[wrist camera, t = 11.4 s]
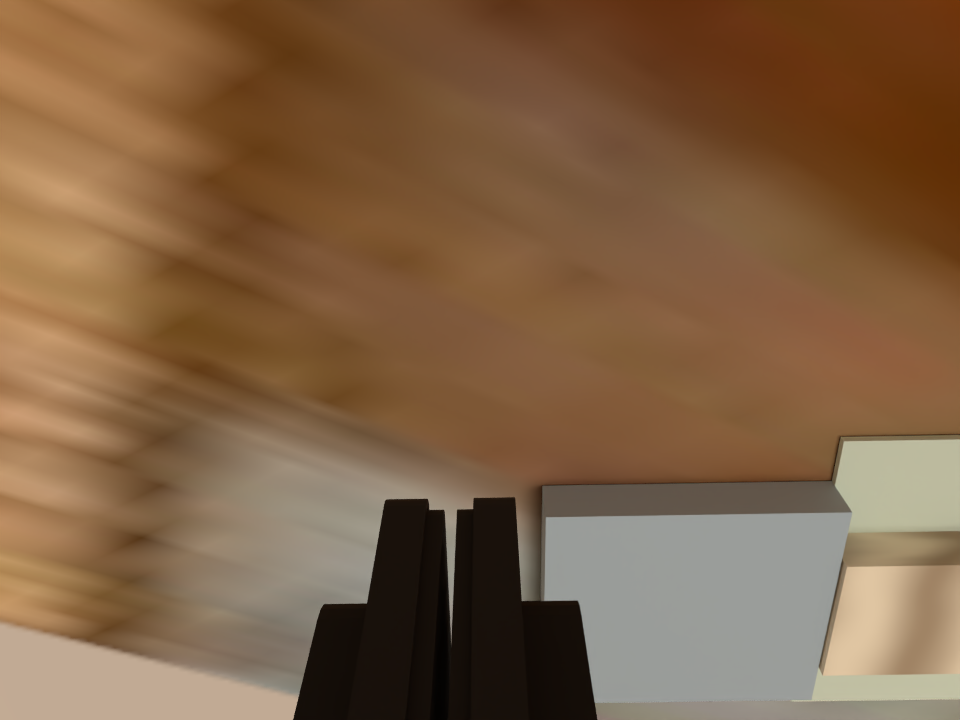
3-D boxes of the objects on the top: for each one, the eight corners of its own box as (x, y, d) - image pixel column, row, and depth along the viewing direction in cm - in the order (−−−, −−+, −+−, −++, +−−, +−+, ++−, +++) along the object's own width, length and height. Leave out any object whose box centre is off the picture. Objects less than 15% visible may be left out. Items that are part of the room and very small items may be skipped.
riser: (831, 481, 40) (852, 512, 38) (795, 662, 46) (811, 699, 43) (542, 485, 40) (545, 517, 38) (539, 666, 46) (542, 703, 44)
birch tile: (1030, 530, 41) (1062, 563, 39) (994, 636, 44) (1021, 672, 42) (827, 533, 41) (847, 566, 39) (805, 638, 44) (822, 675, 42)
